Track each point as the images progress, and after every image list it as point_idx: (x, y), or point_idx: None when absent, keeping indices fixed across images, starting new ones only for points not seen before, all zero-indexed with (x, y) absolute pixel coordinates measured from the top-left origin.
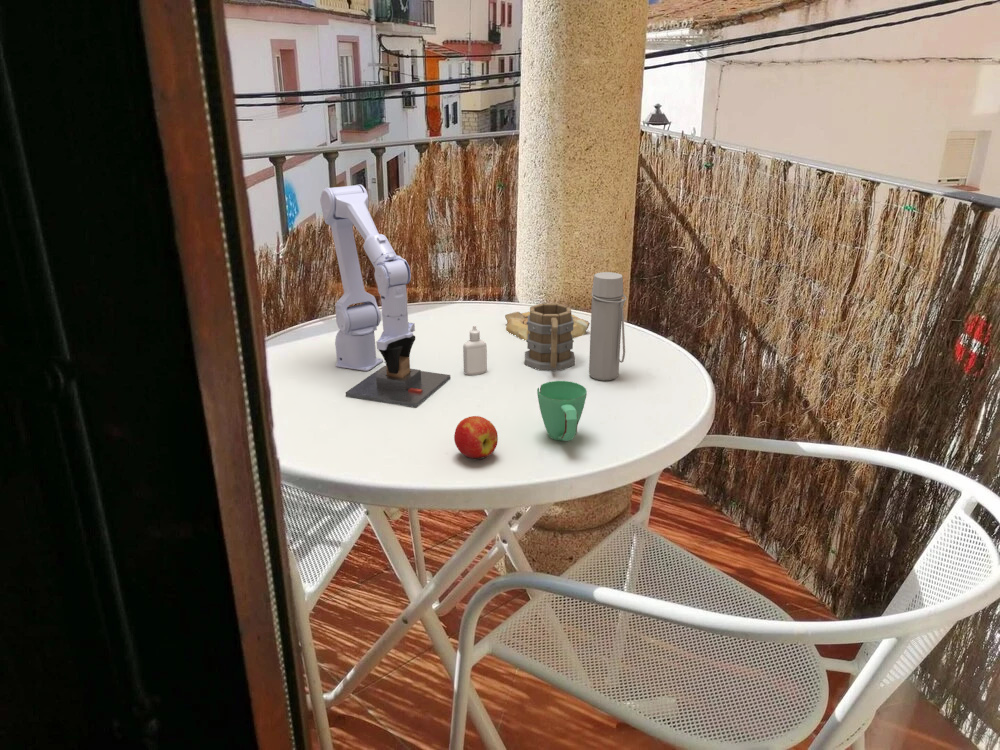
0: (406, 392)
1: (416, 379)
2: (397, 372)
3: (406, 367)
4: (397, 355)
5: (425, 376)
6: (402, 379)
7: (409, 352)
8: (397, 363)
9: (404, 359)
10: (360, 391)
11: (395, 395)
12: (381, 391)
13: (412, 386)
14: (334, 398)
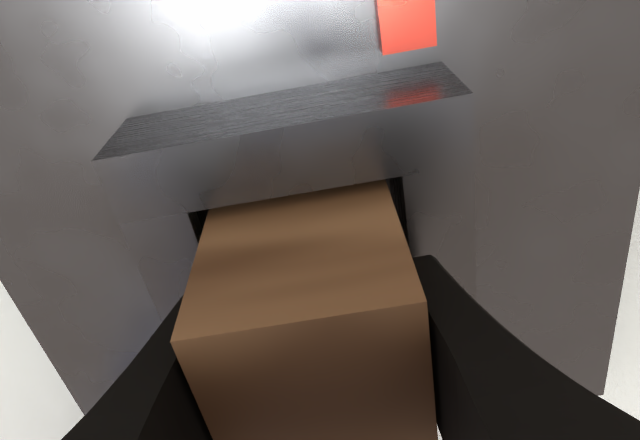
0: (459, 43)
1: (213, 114)
2: (423, 259)
3: (279, 254)
4: (620, 421)
5: (35, 133)
6: (432, 158)
7: (111, 412)
8: (490, 324)
9: (277, 346)
10: (561, 342)
11: (557, 90)
12: (514, 237)
13: (307, 85)
14: (630, 397)
